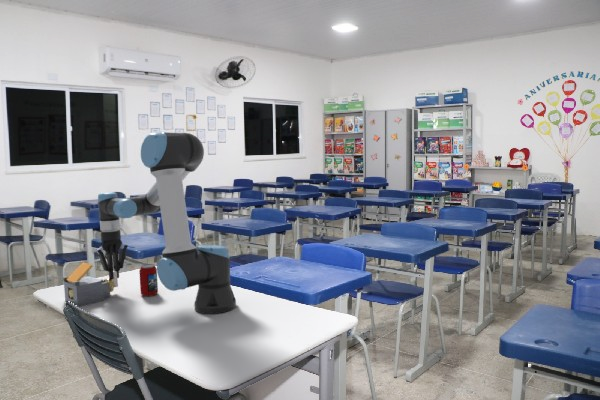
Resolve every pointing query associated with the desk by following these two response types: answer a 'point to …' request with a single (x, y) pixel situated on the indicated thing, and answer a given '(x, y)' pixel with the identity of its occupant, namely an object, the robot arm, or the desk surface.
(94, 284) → the hitch block
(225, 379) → the desk surface
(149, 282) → the beverage can
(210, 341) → the desk surface
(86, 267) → the plate
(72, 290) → the pin
